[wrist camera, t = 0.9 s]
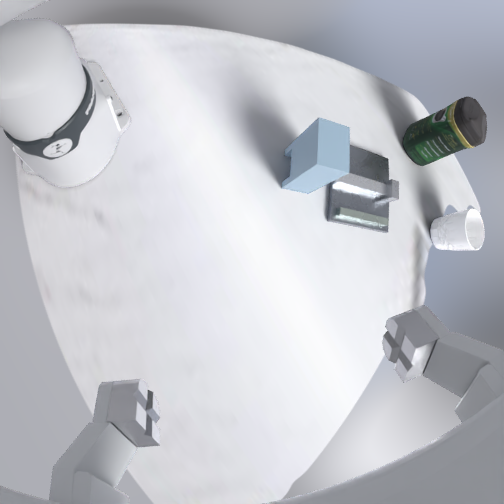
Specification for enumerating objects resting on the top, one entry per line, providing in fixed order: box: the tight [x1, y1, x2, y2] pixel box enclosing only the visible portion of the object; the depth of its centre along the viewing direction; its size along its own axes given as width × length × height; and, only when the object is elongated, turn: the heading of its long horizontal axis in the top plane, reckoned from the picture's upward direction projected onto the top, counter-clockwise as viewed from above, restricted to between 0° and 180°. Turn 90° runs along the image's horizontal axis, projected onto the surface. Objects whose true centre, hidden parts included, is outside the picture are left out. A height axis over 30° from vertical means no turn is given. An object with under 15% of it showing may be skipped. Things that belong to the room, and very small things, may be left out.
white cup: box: [430, 208, 484, 250], centre depth 49 cm, size 8×8×10 cm
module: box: [282, 118, 350, 194], centre depth 40 cm, size 4×7×12 cm, turn 173°
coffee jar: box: [403, 97, 487, 166], centre depth 45 cm, size 10×8×19 cm
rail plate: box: [328, 145, 399, 233], centre depth 47 cm, size 12×14×4 cm
